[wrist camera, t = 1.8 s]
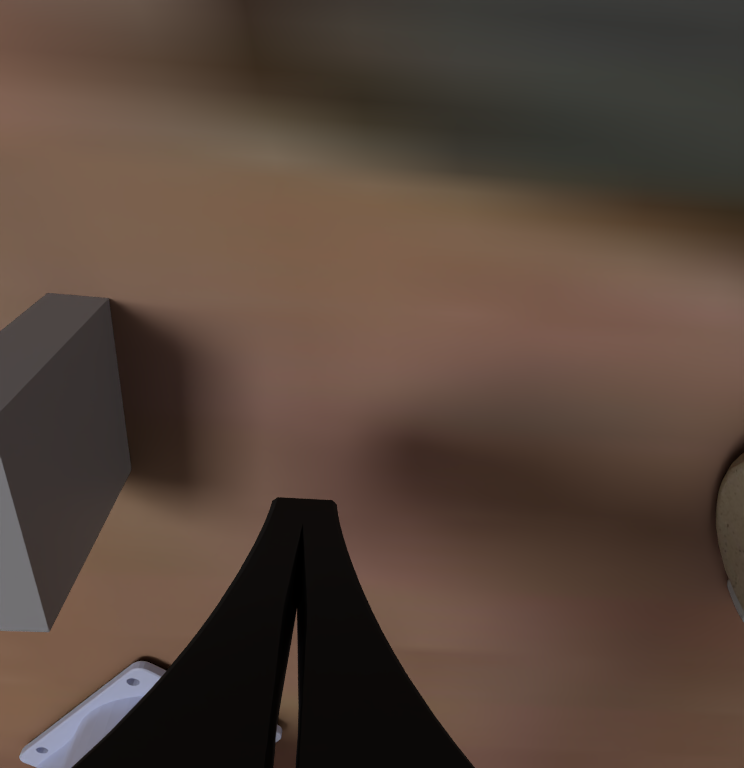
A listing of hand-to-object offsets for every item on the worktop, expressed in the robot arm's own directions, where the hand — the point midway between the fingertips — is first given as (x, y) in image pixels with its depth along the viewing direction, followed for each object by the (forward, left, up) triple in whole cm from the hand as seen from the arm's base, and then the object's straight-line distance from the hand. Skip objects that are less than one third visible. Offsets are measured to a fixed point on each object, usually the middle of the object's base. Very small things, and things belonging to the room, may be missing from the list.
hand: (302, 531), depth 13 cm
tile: (-4, +5, -5) cm, 8 cm away
